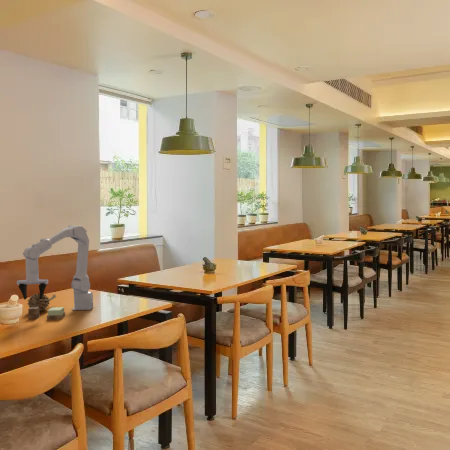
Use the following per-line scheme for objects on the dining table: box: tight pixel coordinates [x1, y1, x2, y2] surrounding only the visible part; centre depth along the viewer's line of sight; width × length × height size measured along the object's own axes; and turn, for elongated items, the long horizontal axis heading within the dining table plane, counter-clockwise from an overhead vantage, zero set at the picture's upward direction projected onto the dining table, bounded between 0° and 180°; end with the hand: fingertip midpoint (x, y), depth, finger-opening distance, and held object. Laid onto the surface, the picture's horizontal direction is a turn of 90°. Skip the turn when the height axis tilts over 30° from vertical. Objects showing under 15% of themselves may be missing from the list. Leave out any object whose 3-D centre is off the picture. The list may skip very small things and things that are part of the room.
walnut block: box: [27, 307, 41, 320], centre depth 238 cm, size 4×4×5 cm
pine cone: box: [26, 292, 57, 312], centre depth 255 cm, size 22×10×10 cm, turn 172°
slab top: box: [47, 306, 65, 316], centre depth 238 cm, size 6×6×2 cm
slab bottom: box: [46, 311, 66, 321], centre depth 238 cm, size 7×7×2 cm
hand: (33, 298), depth 238 cm, fingers open, 7 cm apart
